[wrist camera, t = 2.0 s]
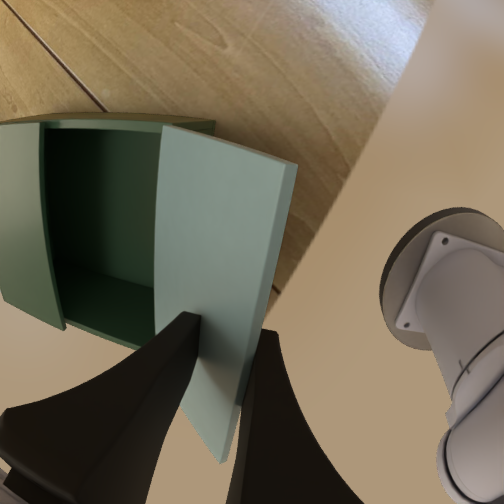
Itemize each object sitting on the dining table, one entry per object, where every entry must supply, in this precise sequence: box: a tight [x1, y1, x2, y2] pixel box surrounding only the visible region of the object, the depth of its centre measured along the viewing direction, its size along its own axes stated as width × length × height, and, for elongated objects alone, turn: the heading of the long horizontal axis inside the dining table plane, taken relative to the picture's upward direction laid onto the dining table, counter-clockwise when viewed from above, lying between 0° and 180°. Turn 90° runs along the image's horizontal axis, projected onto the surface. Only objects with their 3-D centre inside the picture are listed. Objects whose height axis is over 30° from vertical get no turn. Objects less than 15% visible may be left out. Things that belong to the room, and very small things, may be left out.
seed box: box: [0, 112, 216, 350], centre depth 17 cm, size 14×13×7 cm
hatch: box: [154, 125, 298, 464], centre depth 11 cm, size 7×13×1 cm
